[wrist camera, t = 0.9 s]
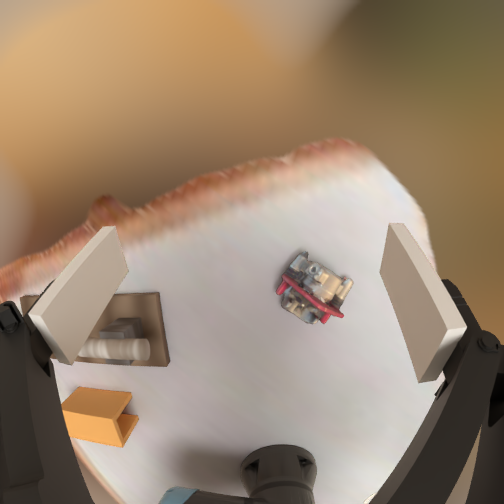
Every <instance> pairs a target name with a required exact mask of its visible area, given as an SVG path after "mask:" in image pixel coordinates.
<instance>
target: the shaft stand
mask: <svg viewBox="0 0 504 504" xmlns="http://www.w3.org/2000/svg"><path fill="white" fill-rule="evenodd" d="M38 298H39V296H23V297H20V302H21V308H22V313H23V317H24V315H25V314H26V313H27V311H28V310H29V309H30V307H31V306H32V305H33V304H34V302H35V301H36V300H37V299H38ZM50 358H52V359H57V358H56V357H55V355H54V354H53V353H52V355H51V357H50ZM75 361H78V362H88V363H99V364H113V365H130V366H158V367H167V366H168V364H169V362H170V359H169V353H168V347H167V342H166V336H165V329H164V323H163V316H162V310H161V302H160V295H159V292H156V293H132V294H114V295H113V296H112V298H111V300H110V301H109V303H108V304H107V306H106V308H105V309H104V311H103V313H102V314H101V316H100V318H99V319H98V321H97V323H96V324H95V326H94V328H93V329H92V331H91V333H90V334H89V336H88V338H87V340H86V341H85V343H84V345H83V347H82V349H81V350H80V352H79V354H78V356H77V358H76V359H75Z"/></svg>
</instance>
